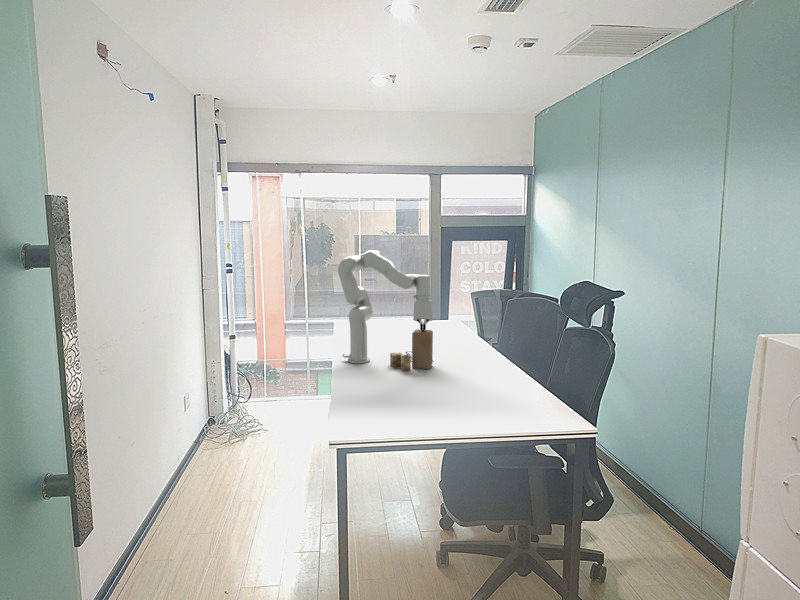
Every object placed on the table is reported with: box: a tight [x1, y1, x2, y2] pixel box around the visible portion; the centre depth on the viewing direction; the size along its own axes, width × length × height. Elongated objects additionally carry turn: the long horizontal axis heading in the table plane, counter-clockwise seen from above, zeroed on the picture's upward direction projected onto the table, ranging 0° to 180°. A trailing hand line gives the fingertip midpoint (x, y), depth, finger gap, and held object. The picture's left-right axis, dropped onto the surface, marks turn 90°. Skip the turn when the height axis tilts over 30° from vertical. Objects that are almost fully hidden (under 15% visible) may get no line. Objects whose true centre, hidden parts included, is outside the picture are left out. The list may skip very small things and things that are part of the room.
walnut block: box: [389, 352, 404, 369], centre depth 309 cm, size 6×6×7 cm
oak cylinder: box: [400, 354, 412, 372], centre depth 301 cm, size 5×5×8 cm
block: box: [411, 329, 434, 370], centre depth 307 cm, size 10×10×20 cm
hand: (422, 331), depth 305 cm, fingers closed
